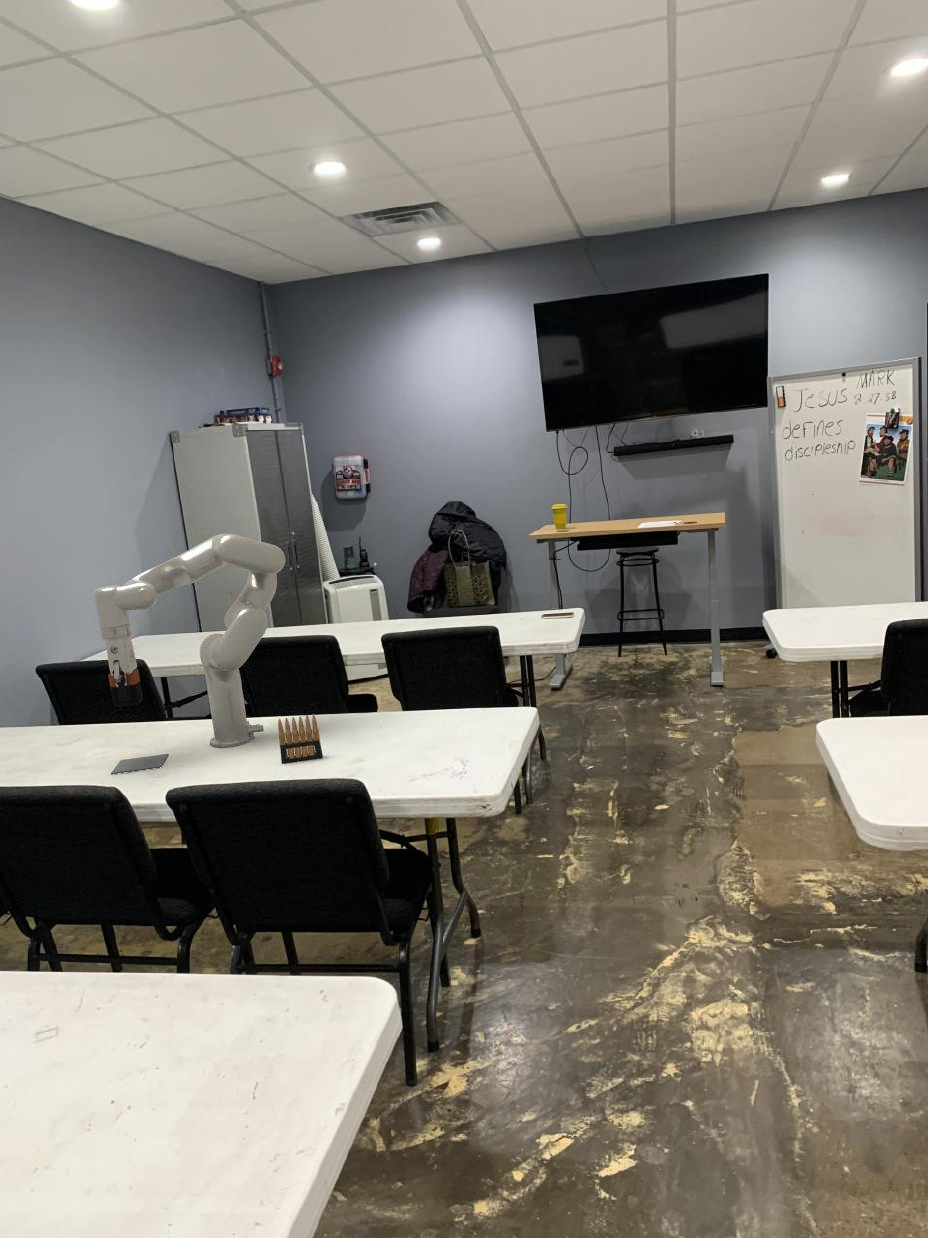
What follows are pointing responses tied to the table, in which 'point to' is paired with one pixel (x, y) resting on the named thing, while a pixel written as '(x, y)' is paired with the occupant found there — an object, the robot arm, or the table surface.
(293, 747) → the ammunition clip
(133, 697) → the battery
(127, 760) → the mat
